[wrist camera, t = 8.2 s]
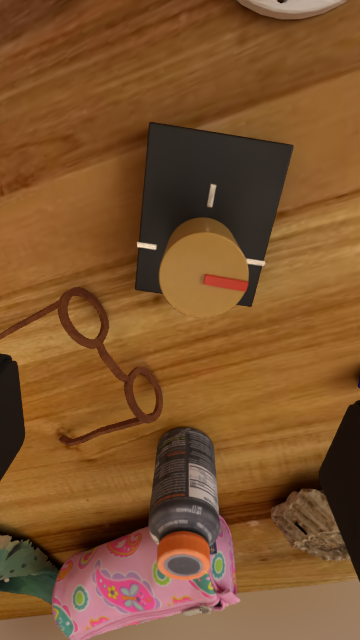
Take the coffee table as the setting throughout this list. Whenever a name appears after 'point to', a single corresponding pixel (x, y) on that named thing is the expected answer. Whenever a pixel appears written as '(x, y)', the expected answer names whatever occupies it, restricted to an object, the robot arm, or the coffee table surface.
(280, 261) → the coffee table surface
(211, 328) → the coffee table surface
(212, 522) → the pill bottle
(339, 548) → the seashell
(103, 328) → the glasses
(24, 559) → the teal shoe
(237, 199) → the panel
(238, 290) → the tan dial knob
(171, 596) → the pencil case
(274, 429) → the coffee table surface
